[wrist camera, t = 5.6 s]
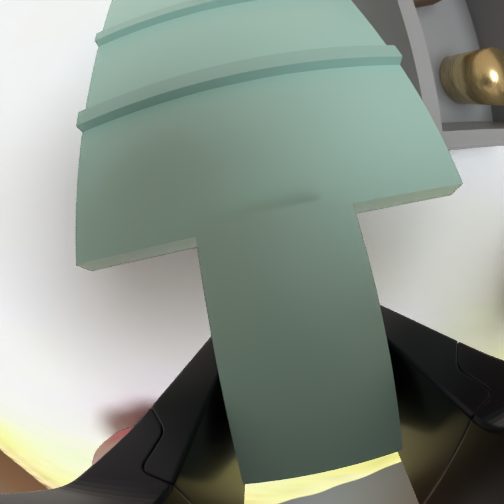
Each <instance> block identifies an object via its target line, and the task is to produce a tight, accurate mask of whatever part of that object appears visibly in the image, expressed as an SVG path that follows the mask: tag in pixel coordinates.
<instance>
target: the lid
mask: <svg viewBox="0 0 504 504" xmlns="http://www.w3.org/2000/svg"><path fill="white" fill-rule="evenodd" d="M95 42H96V43H97V45H98V51H97V55H96V59H95V64H94V68H93V73H92V77H91V82H90V88H89V93H88V99H87V104H86V109H85V110H83V111H81V112H79V113H78V119H77V125H76V126H77V127H78V128H79V129H80V130H81V131H82V139H81V148H80V158H79V169H78V183H77V202H76V265H77V266H80V267H82V268H85V269H88V270H90V271H95V270H99V269H103V268H107V267H112V266H116V265H120V264H125V263H129V262H133V261H138V260H142V259H146V258H151V257H155V256H160V255H164V254H169V253H173V252H177V251H182V250H186V249H191V248H195V247H197V249H198V256H199V263H200V269H201V276H202V282H203V289H204V295H205V301H206V307H207V313H208V319H209V324H210V330H211V336H212V341H213V347H214V352H215V357H216V363H217V368H218V373H219V378H220V383H221V388H222V393H223V398H224V403H225V408H226V412H227V417H228V422H229V426H230V431H231V435H232V440H233V444H234V448H235V453H236V457H237V461H238V465H239V469H240V474H241V478H242V482H243V484H250V483H260V482H268V481H275V480H282V479H289V478H295V477H301V476H306V475H311V474H316V473H321V472H326V471H330V470H335V469H339V468H343V467H347V466H351V465H355V464H358V463H362V462H365V461H369V460H372V459H376V458H379V457H382V456H385V455H388V454H391V453H394V452H397V451H400V450H403V448H402V437H401V428H400V419H399V411H398V403H397V396H396V389H395V383H394V376H393V370H392V364H391V359H390V353H389V348H388V342H387V337H386V332H385V327H384V322H383V318H382V313H381V308H380V304H379V300H378V295H377V291H376V287H375V283H374V279H373V275H372V271H371V267H370V263H369V259H368V255H367V252H366V248H365V244H364V241H363V237H362V234H361V230H360V227H359V223H358V220H357V217H356V213H361V212H366V211H371V210H377V209H382V208H387V207H392V206H397V205H402V204H407V203H412V202H418V201H423V200H428V199H433V198H439V197H444V196H449V195H452V194H453V193H454V192H455V191H456V190H457V189H458V188H459V187H460V186H461V185H462V184H463V183H462V180H461V178H460V176H459V173H458V171H457V169H456V166H455V164H454V162H453V160H452V157H451V155H450V153H449V151H448V149H447V147H446V145H445V143H444V140H443V138H442V136H441V134H440V132H439V131H438V129H437V127H436V125H435V123H434V121H433V119H432V117H431V115H430V114H429V112H428V110H427V108H426V106H425V105H424V103H423V101H422V99H421V98H420V96H419V94H418V93H417V91H416V89H415V88H414V86H413V84H412V83H411V81H410V79H409V78H408V76H407V75H406V73H405V72H404V70H403V69H402V67H401V66H400V63H401V60H402V57H403V56H402V55H401V53H400V52H399V51H398V49H397V48H396V46H395V45H386V44H385V42H384V41H383V40H382V38H381V37H380V36H379V34H378V33H377V32H376V30H375V29H374V28H373V27H372V25H371V24H370V23H369V21H368V20H367V19H366V18H365V16H364V15H363V14H362V13H361V12H360V10H359V9H358V8H357V7H356V6H355V4H354V3H353V2H352V1H351V0H112V2H111V5H110V8H109V11H108V14H107V18H106V21H105V25H104V28H103V31H101V32H99V33H97V34H96V38H95Z"/></svg>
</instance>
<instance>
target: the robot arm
mask: <svg viewBox="0 0 504 504" xmlns="http://www.w3.org/2000/svg"><path fill="white" fill-rule="evenodd" d="M380 308H381V313H382V318H383V322H384V327H385V332H386V337H387V342H388V348H389V353H390V359H391V364H392V370H393V376H394V383H395V389H396V396H397V403H398V411H399V419H400V428H401V437H402V448H403V450H400V451H398V453H399V456H400V458H401V461H402V463H403V465H404V468H405V470H406V472H407V475H408V477H409V480H410V482H411V485H412V487H413V490H414V492H415V494H416V497H417V499H418V502H419V504H504V361H503V360H501V359H498V358H495V357H493V356H490V355H487V354H485V353H483V352H481V351H478V350H476V349H474V348H471V347H469V346H467V345H465V344H463V343H461V342H458V344H457V341H456V340H454V339H452V338H450V337H448V336H446V335H443V334H441V333H439V332H437V331H435V330H433V329H431V328H429V327H426V326H424V325H422V324H420V323H418V322H416V321H414V320H411V319H409V318H407V317H405V316H403V315H401V314H399V313H396V312H394V311H392V310H390V309H388V308H386V307H384V306H381V305H380ZM151 408H152V409H149V410H148V411H147V412H146V413H145V414H144V416H143V417H142V418H141V419H140V420H139V421H138V422H137V423H136V424H135V425H134V427H133V428H132V429H131V430H130V431H129V432H128V433H127V434H126V435H125V436H124V437H123V438H122V439H121V440H120V441H119V442H118V443H117V444H116V445H114V446H113V447H112V448H111V449H110V450H109V451H108V452H107V453H106V454H105V455H103V456H102V457H101V458H100V459H99V460H98V461H97V462H96V463H95V464H93V465H92V466H91V467H90V468H89V469H88V470H87V471H85V472H84V473H83V474H82V475H81V476H80V477H78V478H77V479H76V480H74V481H73V482H71V483H69V484H67V485H65V486H62V487H59V488H55V489H49V490H41V491H33V492H23V493H11V494H0V504H244V492H245V484H243V482H242V478H241V474H240V469H239V465H238V461H237V457H236V453H235V448H234V444H233V440H232V435H231V431H230V426H229V422H228V417H227V412H226V408H225V403H224V398H223V393H222V388H221V383H220V378H219V373H218V368H217V363H216V357H215V352H214V347H213V341H212V336H211V337H210V338H209V340H208V341H207V342H206V343H205V344H204V346H203V347H202V348H201V349H200V350H199V351H198V353H197V354H196V355H195V356H194V357H193V359H192V360H191V361H190V362H189V363H188V364H187V366H186V367H185V368H184V369H183V370H182V372H181V373H180V374H179V375H178V376H177V377H176V379H175V380H174V381H173V382H172V383H171V384H170V386H169V387H168V388H167V389H166V390H165V391H164V393H163V394H162V395H161V396H160V397H159V398H158V400H157V401H156V402H155V403H154V404H153V405H152V407H151Z"/></svg>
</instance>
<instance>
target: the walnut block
mask: <svg viewBox="0 0 504 504" xmlns="http://www.w3.org/2000/svg"><path fill="white" fill-rule="evenodd" d="M439 1H441V0H413V2H414V5H415V8H417V7H423V6H429V5H433V4H435V3H437V2H439Z"/></svg>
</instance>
